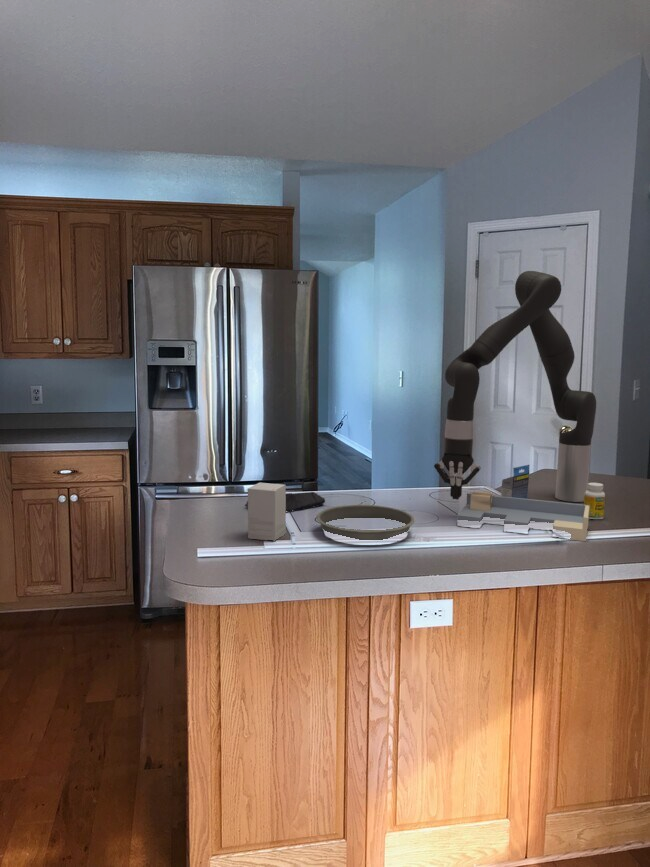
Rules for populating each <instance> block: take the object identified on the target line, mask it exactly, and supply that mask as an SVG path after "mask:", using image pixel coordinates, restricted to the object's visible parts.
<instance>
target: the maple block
mask: <svg viewBox="0 0 650 867" xmlns="http://www.w3.org/2000/svg"><path fill="white" fill-rule="evenodd" d="M471 493H472V494H471V501H470V510H479V511H490V509H491V508H492V495H493V492H486V491H476V490H475V491H473V492H471Z"/></svg>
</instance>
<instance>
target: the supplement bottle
mask: <svg viewBox="0 0 650 867" xmlns="http://www.w3.org/2000/svg"><path fill="white" fill-rule="evenodd" d="M603 490H604V484H603V483H601V482H600V483H599V482H588V490H587V491H586V492H585V495H584V501H583V505H590V506H589V518H590V519H602V520H603V519H604V517H605V516H604V515H605V503H606V493H605V492H604V491H603ZM590 519H589V520H590Z"/></svg>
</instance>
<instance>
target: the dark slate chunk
mask: <svg viewBox="0 0 650 867" xmlns="http://www.w3.org/2000/svg"><path fill="white" fill-rule="evenodd" d="M325 503H326V498H324V497H323V496H321V495H319V494H318V493H316V492H314V491H309V492H298V493H297V492H296V493H292V492H291V493H290V492H289V493H286V511H291V512H292V510H295V511H297V510H296V509H301V510H304V509H303V508H306V509H308V508H307V507H312V508H314V507H313V506H316V507H318V506H317V505H319V506H320V505H324V504H325ZM244 506H245V507H247V508H248V500H247V501H246V504H244Z"/></svg>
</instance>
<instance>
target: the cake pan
mask: <svg viewBox="0 0 650 867" xmlns="http://www.w3.org/2000/svg"><path fill="white" fill-rule="evenodd" d="M344 518H385V519H391V520H396V521H399V522H402V523H405V524H406V525H405V526H402V527H398V528H393V529H386V530H354V529H345V528H339V527H335V526H332V525H329V524H326V522H329V521H332V520H337V519H344ZM315 519H316V521H317V522H318V523H319V524H320V525H321V526H320V527H321V529H322V528H323V529H324V530H325V531H327V532H330V533H333V534H338V535H342V536H346V537H350V538H355V539H359V540H383V539H388V538H390V537H393V536H396V535H399V534H402V533H404V532H407V531H408V530H409V531H410V527H411V526H413V525H414V523H415V521H416V520H415V517H414V516H413V515H412V514H411V513H409V512H407V511H405V510H402V509H399V508H394V507H390V506H383V505H373V504H372V505H370V504H347V505H338V506H334V507H333V506H332V507H330V508H326V509H324V510H321V511H320V512H318V513H317V515H316V517H315Z"/></svg>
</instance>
